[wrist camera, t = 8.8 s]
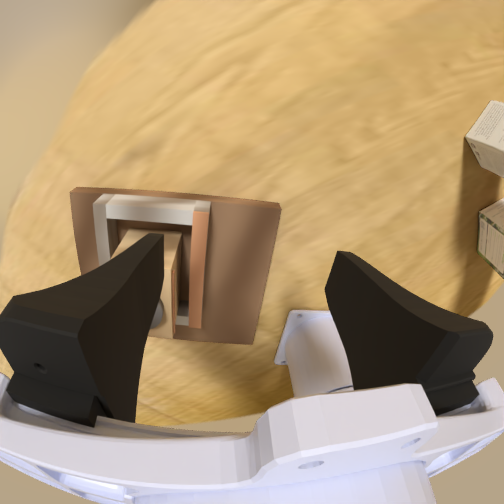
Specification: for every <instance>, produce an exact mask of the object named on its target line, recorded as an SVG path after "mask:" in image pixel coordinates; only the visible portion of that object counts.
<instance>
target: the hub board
mask: <svg viewBox="0 0 504 504" xmlns="http://www.w3.org/2000/svg"><path fill="white" fill-rule="evenodd" d="M70 200H71V210H72V219H73V227H74V235H75V241H76V248H77V254H78V260H79V265H80V270H81V275H84V274H86V273H88V272H90V271H92V270H94V269H96V268H97V267H99V266H101V265H103V264H104V263H106V262H108V261H109V260H110V259H111V257H112V256H113V254H114V252H115V251H116V249H117V247H118V246H119V244H120V243H121V241H122V239H123V238H124V236H125V235H126V233H127V232H128V230H129V228H130V227H135V228H147V229H159V230H170V231H181V232H182V246H181V296H180V301H179V307H178V312H177V317H176V323H175V329H176V331H175V333H174V335H173V339H181V340H192V341H203V342H216V343H232V344H251V345H252V344H253V340H254V335H255V331H256V326H257V322H258V317H259V313H260V308H261V304H262V299H263V295H264V290H265V285H266V281H267V276H268V272H269V267H270V262H271V257H272V253H273V248H274V243H275V238H276V234H277V229H278V224H279V219H280V214H281V207H280V205H279V203H274V202H265V201H257V200H248V199H239V198H230V197H220V196H210V195H199V194H187V193H175V192H162V191H147V190H131V189H112V188H88V187H76V188H75V189H73V190H72V191H71V192H70Z"/></svg>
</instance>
